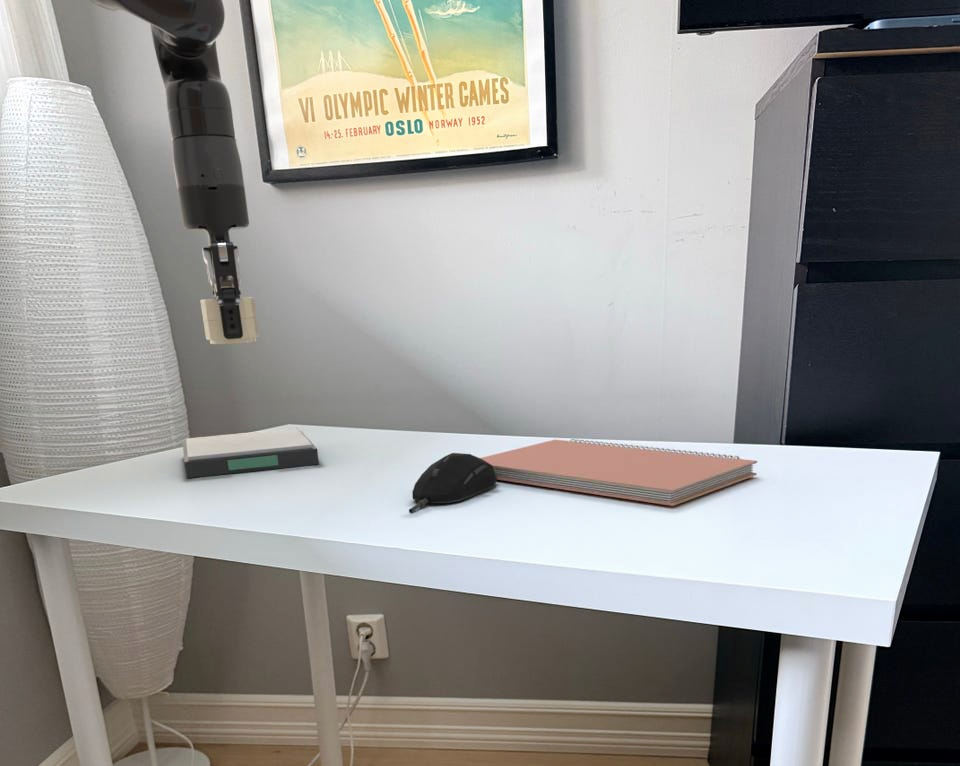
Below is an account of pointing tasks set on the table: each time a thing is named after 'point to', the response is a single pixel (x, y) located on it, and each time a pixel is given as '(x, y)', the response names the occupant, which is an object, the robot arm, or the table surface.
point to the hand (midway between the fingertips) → (232, 336)
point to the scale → (248, 452)
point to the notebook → (620, 470)
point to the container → (215, 323)
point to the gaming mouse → (453, 480)
